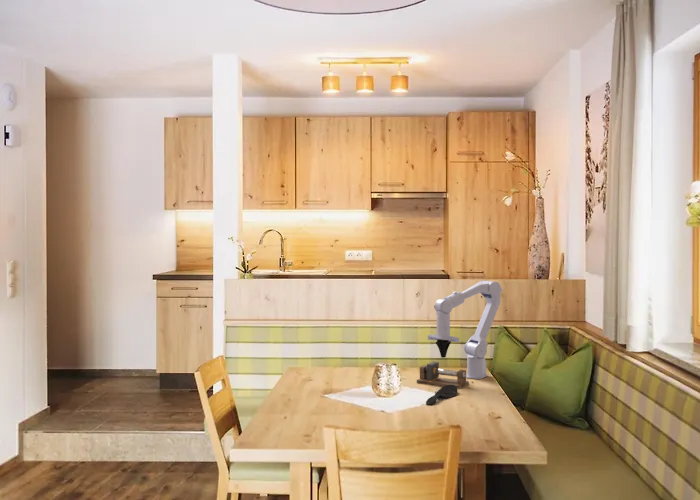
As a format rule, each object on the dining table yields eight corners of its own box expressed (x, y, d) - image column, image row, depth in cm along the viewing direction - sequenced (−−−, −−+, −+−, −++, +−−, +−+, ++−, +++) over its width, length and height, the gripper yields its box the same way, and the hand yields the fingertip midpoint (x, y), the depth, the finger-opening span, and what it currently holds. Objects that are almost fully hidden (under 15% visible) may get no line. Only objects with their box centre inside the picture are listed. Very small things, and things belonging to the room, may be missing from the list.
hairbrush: (417, 397, 258) (442, 381, 280) (418, 407, 259) (442, 390, 280) (437, 400, 254) (461, 383, 276) (438, 410, 255) (461, 392, 276)
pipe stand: (427, 378, 302) (427, 364, 301) (468, 384, 290) (468, 369, 290) (416, 382, 293) (416, 368, 293) (458, 388, 282) (458, 373, 282)
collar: (433, 376, 298) (433, 361, 298) (438, 377, 297) (438, 362, 296) (426, 379, 292) (426, 364, 292) (431, 380, 291) (431, 364, 291)
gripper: (424, 326, 297) (424, 357, 298) (454, 328, 289) (454, 360, 289) (431, 324, 303) (431, 354, 303) (461, 326, 295) (461, 357, 295)
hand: (443, 357), depth 297 cm, fingers closed
